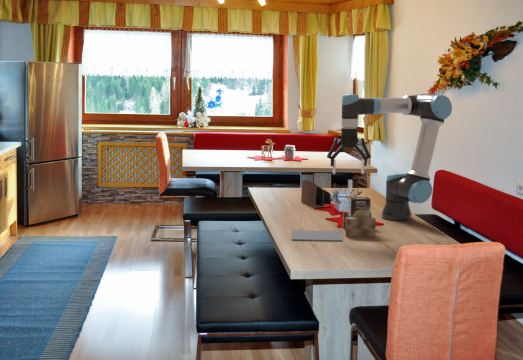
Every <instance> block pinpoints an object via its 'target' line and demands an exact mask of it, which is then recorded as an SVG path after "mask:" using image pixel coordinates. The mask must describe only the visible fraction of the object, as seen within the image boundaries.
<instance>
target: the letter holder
mask: <svg viewBox="0 0 523 360" xmlns="http://www.w3.org/2000/svg"><path fill="white" fill-rule="evenodd" d="M301 185H302V186H301V198H300V199H301V203H302V204H305V205H307V206H309V207H311V208H314V209H319V208H318V207H324V206H325V205H324V204H330V205H331V206H332V195H331V193H330V191H327V190H325V189H323V188H322V187H320V186H319V185H317V184H316V183H315V182H313V181H311V180H308V179H303V180H302V184H301Z"/></svg>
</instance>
